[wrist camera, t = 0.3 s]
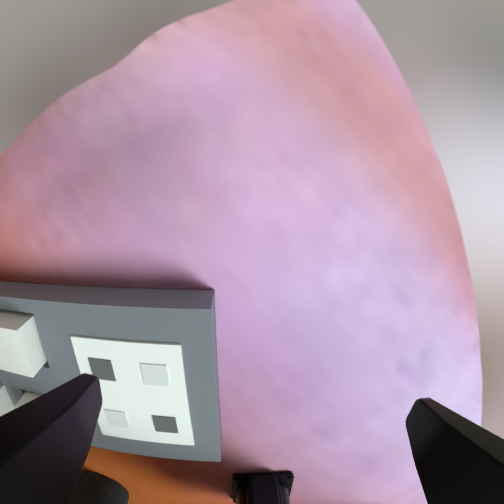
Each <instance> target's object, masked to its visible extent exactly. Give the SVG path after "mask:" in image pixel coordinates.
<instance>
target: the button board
mask: <svg viewBox="0 0 504 504" xmlns="http://www.w3.org/2000/svg"><path fill="white" fill-rule="evenodd" d="M0 309H3V310H10V311H17V312H25V313H33V314H34V317H35V321H36V325H37V329H38V332H39V336H40V339H41V342H42V346H43V349H44V352H45V355H46V358H47V361H46V363H45V364H44V365H43V366H42V367H41V369H40V370H39V371H38V372H37V374H36V375H35V376H34V377H33V378H31V377H27V376H23V375H19V374H16V373H12V372H8V371H4V370H1V369H0V383H2V384H4V385H5V388H6V390H7V392H8V394H9V396H10V398H11V400H12V403H13V405H14V407H15V405H16V404H17V403H18V401H19V400H20V399H21V397H22V396H23V395H24V393H25V392H26V391H30V392H34V393H38V394H42V395H43V394H45V393H47V392H49V391H50V390H52V389H54V388H56V387H58V386H60V385H62V384H64V383H66V382H68V381H69V380H71V379H73V378H75V377H77V376H79V375H81V374H83V373H87V374H91V375H95V376H97V377H98V378H99V381H100V387H101V393H102V407H101V411H100V414H99V418H98V421H97V425H96V428H95V432H94V435H93V439H92V443H91V446H92V447H97V448H102V449H107V450H112V451H117V452H123V453H129V454H136V455H143V456H151V457H159V458H168V459H179V460H193V461H213V462H221V445H222V433H221V419H220V403H219V386H218V367H217V346H216V321H215V290H187V289H144V288H115V287H91V286H71V285H53V284H37V283H22V282H8V281H0ZM15 409H16V408H15Z"/></svg>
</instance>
